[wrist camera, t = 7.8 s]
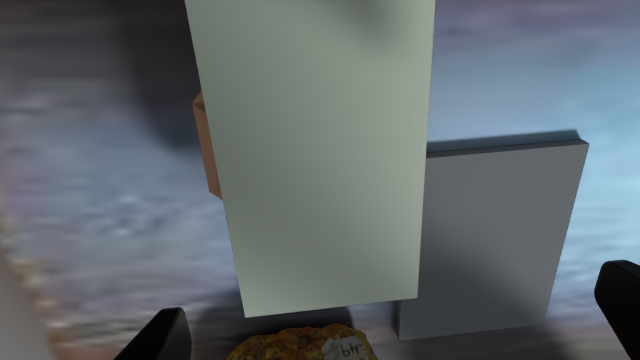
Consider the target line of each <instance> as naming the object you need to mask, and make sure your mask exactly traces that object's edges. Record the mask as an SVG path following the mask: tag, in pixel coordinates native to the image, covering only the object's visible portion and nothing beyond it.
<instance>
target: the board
mask: <svg viewBox="0 0 640 360" xmlns="http://www.w3.org/2000/svg"><path fill="white" fill-rule="evenodd" d="M185 5H186V10H187V15H188V20H189V26H190V31H191V36H192V41H193V47H194V52H195V57H196V62H197V68H198V73H199V78H200V83H201V89H202V94H203V99H204V104H205V110H206V115H207V120H208V125H209V130H210V136H211V141H212V146H213V151H214V157H215V162H216V167H217V172H218V178H219V183H220V188H221V193H222V199H223V204H224V209H225V214H226V220H227V225H228V230H229V235H230V241H231V246H232V251H233V256H234V261H235V267H236V272H237V277H238V282H239V288H240V293H241V298H242V303H243V309H244V314H245V318H247V317H256V316H264V315H273V314H282V313H290V312H299V311H308V310H316V309H325V308H334V307H343V306H351V305H360V304H369V303H377V302H386V301H395V300H403V299H412V298H417V293H418V277H419V260H420V244H421V227H422V211H423V194H424V178H425V161H426V145H427V128H428V112H429V95H430V79H431V62H432V46H433V29H434V13H435V0H185Z"/></svg>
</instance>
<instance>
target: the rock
mask: <svg viewBox="0 0 640 360" xmlns="http://www.w3.org/2000/svg"><path fill="white" fill-rule="evenodd" d="M226 360H378V359H377V357H376V356H375V354H374V352H373V350H372V348H371V346H370V344H369V342H368V341H367V338H366V334H364V333H363V332H361V331H359V330H355V329H351V328H349V327H347V326H345V325H343V324H340V323H335V324H331V325H327V326H325V327H322V328H314V329H313V328H311V327H309V326H308V327H304V328H289V329H284V330H281V331H280V332H279V333H277V334H271V335H255V336H252V337H250V338H249V339H247V340H246V341H244V342H243V343H241V344H239V345H238V346H237V347H236V348H235V349H234V350H233V351H232V352H231V353H230V354H229V356H228V357H227V358H226Z"/></svg>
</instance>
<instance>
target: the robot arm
mask: <svg viewBox="0 0 640 360" xmlns="http://www.w3.org/2000/svg"><path fill="white" fill-rule="evenodd" d="M594 295H595V299H596V302H597V304H598V305H599V307H600V309H601V310H602V312H603V314H604V315H605V317H606V319H607V320H608V322H609V324H610V326H611V327H612V329H613V331H614V332H615V334H616V336H617V337H618V339H619V341H620V342H621V344H622V346H623V347H624V349H625V351H626V352H627V354H628V356H629V357H630V359H631V360H640V265H637V264H635V263H632V262H630V261H627V260H614V261H607V262H605V263H604V264H603V265H602V267H601V270H600V273H599V276H598V280H597V283H596V286H595V290H594ZM191 347H192V341H191V334H190V330H189V326H188V323H187V319H186V315H185V312H184V310H183V308H181V307H174V308H165V309H162V310H160V311H159V312H158V313H157V314H156V315H155V316H154V317H153V318H152V319H151V321H150V322H149V323H148V324H147V325H146V326H145V327H144V328H143V329H142V330H141V331H140V332H139V333H138V334H137V335H136V336H135V337H134V338H133V339H132V340H131V341H130V342H129V344H128V345H127V346H126V347H125V348H124V349H123V350H122V351H121V352H120V353H119V354H118V355H117V356H116V357H115V358H114V359H113V360H190V357H191Z"/></svg>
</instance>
